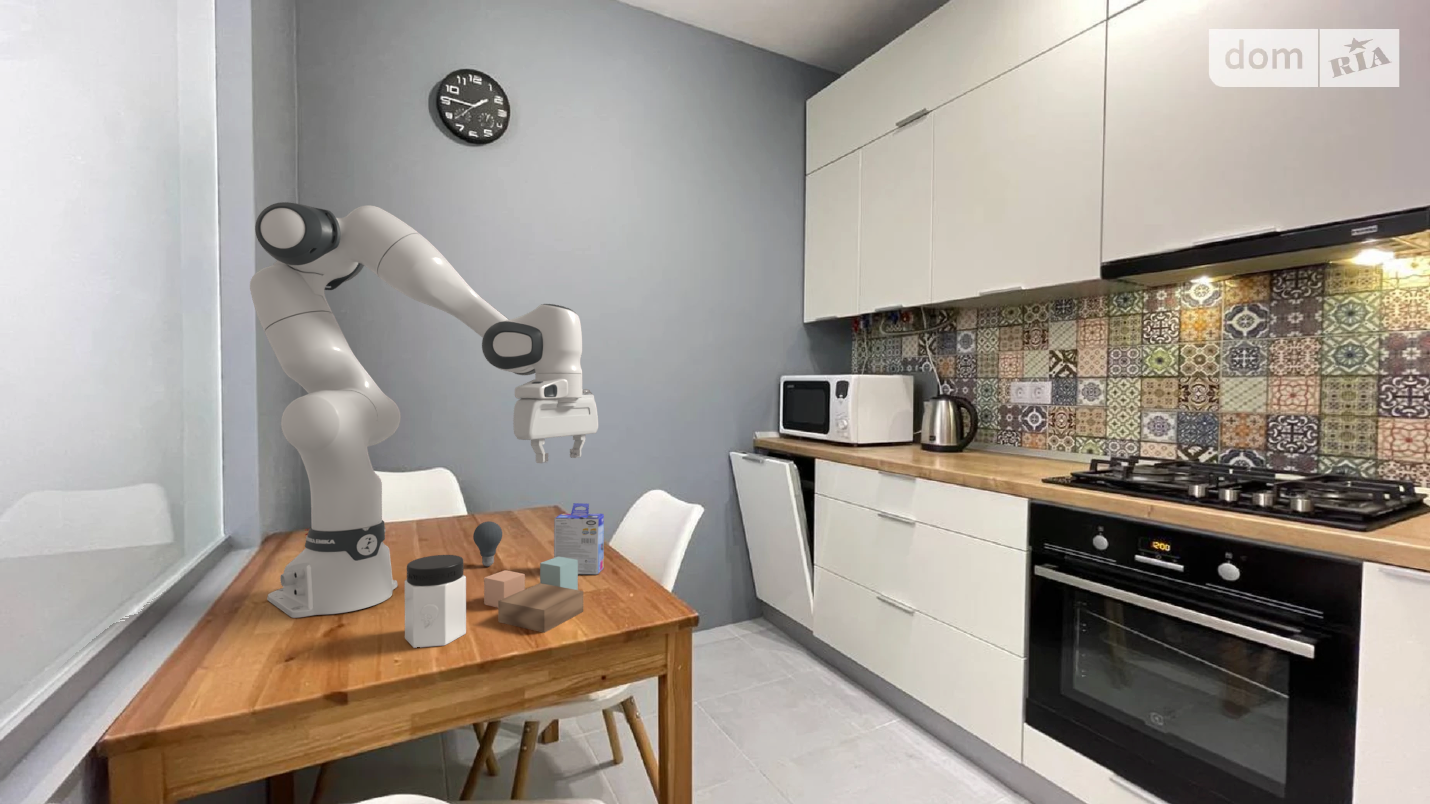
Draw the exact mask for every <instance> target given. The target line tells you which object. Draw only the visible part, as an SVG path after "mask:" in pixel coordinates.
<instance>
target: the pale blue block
mask: <svg viewBox="0 0 1430 804" xmlns="http://www.w3.org/2000/svg"><path fill="white" fill-rule="evenodd" d="M578 575H579V574H578V560H576V559H570V558H564V557H555V558H554V557H552V558H550V559H548V560H545V561H541V562H540V564H539V583H542V584H547V585H553V586H558V587H564V588H569V589H575V590H579V586H578V583H579V582H578V580H579V579H578V577H579V576H578Z"/></svg>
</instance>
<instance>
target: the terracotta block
mask: <svg viewBox="0 0 1430 804" xmlns="http://www.w3.org/2000/svg"><path fill="white" fill-rule="evenodd" d="M525 576H526V574H525V573H521V572H516V571H511V570H505V569H504V570H502V571H500V572H497V573H493V574H491V575H487V576H484V578H483V589H484V590H483V592H484V593H483V594H484V595H483V597H484V599H483V601H484V602H483V604H484V605H486V606H490V607H494V608H497V609H498V601H499V600H501V599H504V598H506V597H508V596H511V595H513V594H515V593H518V592H520V591H522V590H525V589H526V585H525V584H526V577H525Z"/></svg>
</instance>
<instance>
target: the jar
mask: <svg viewBox="0 0 1430 804" xmlns="http://www.w3.org/2000/svg"><path fill="white" fill-rule="evenodd" d="M466 633H467V577H466V575H464V558H463V557H462V556H460V555H456V554H436V555H429V556H424V557H420V558H416V559H413V560H411V561H410V562H408V563H407V564H406V578H405V580H404V639H405V640H406V641H407V642H408V643H409V644H410V645H411V647H412V648H414V649H418V648H417V647H420V648H428V647H429V648H430V647H432V648H433V647H441V646H446V645H448V644H450V643H452V642H454V641H455V640H457V639H459V638H461V637H462V636H464V635H466Z"/></svg>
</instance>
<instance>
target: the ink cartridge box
mask: <svg viewBox="0 0 1430 804" xmlns="http://www.w3.org/2000/svg"><path fill="white" fill-rule="evenodd" d="M579 507H583V508H585V509H576V508H579ZM571 509H572V510H571V512H570V513H560V514H558V515H557V516H556V517H554V521H553V522H554V525H553V526H554V527H553V528H554V529H553V531H554V532H553V558H555V557H564V558H570V559H576V560H578V575H599V574H600V573H601V572H602V571H603V570H604V568H605V567H604V566H605V563H604V562H605V559H604V552H605V551H604V550H605V547H604V546H605V545H604V543H605V542H604V541H605V540H604V539H605V536H604V535H605V533H604V532H605V529H604V528H605V527H604V525H605V521H604V520H605V515H604V513H590V512H589V511H590V503H579V502H578V503H573V505H572V508H571Z"/></svg>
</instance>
